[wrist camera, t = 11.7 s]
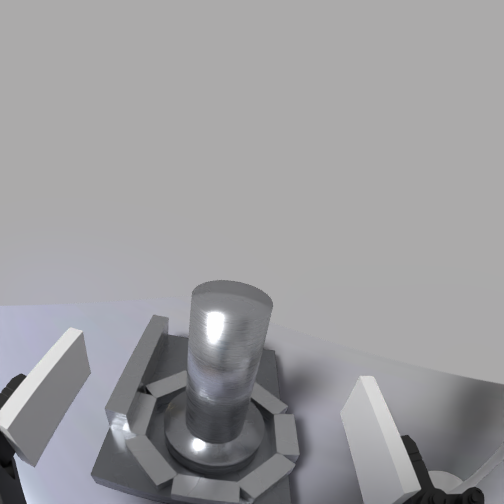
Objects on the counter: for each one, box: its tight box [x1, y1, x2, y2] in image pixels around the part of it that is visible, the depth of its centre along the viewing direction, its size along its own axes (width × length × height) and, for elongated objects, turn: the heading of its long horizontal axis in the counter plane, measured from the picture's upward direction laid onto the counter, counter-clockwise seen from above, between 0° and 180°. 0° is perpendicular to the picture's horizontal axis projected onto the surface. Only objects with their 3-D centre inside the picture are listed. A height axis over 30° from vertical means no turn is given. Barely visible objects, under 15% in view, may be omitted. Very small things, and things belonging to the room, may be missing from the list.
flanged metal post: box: [164, 280, 273, 475], centre depth 16 cm, size 7×7×12 cm
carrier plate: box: [91, 315, 300, 504], centre depth 20 cm, size 14×18×6 cm
